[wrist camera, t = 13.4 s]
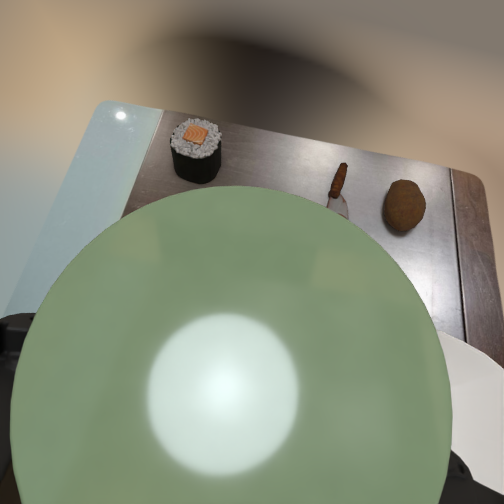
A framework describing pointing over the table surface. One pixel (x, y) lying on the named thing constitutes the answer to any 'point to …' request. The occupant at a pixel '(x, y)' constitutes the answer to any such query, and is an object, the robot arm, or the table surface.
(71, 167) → the table surface
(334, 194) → the kitchen knife
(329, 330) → the canister
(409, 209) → the potato
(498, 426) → the bowl
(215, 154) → the sushi
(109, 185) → the table surface
